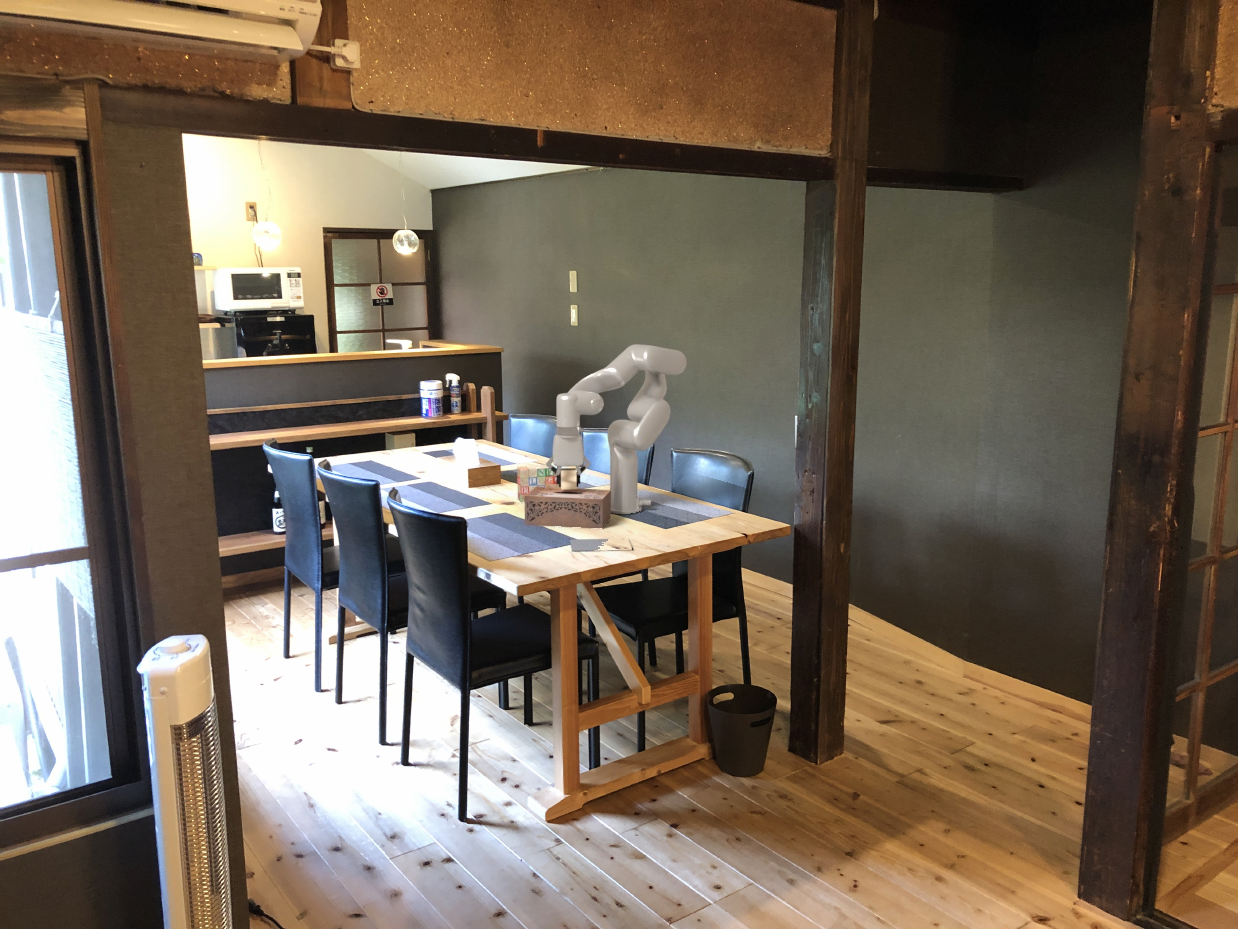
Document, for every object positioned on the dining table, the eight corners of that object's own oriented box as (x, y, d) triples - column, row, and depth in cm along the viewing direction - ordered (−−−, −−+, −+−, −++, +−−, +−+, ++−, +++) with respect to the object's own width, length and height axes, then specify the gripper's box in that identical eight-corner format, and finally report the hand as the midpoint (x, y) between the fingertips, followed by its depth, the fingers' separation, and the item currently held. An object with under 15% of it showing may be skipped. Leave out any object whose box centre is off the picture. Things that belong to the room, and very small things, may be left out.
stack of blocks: (574, 495, 349) (574, 463, 347) (578, 499, 343) (578, 466, 341) (517, 499, 343) (516, 466, 341) (520, 502, 337) (520, 469, 335)
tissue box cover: (524, 525, 306) (524, 495, 304) (536, 515, 320) (536, 486, 318) (602, 529, 301) (602, 499, 299) (610, 519, 315) (610, 490, 313)
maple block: (575, 485, 311) (575, 468, 310) (576, 489, 306) (576, 471, 305) (560, 486, 311) (560, 468, 309) (561, 489, 306) (561, 471, 305)
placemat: (628, 539, 289) (628, 538, 289) (633, 550, 277) (633, 549, 277) (569, 540, 287) (569, 539, 287) (572, 551, 275) (572, 550, 275)
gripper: (593, 429, 309) (593, 483, 313) (541, 430, 308) (542, 484, 311) (595, 433, 302) (595, 488, 306) (542, 433, 300) (542, 489, 304)
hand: (568, 485), depth 308 cm, fingers closed on maple block, 5 cm apart
